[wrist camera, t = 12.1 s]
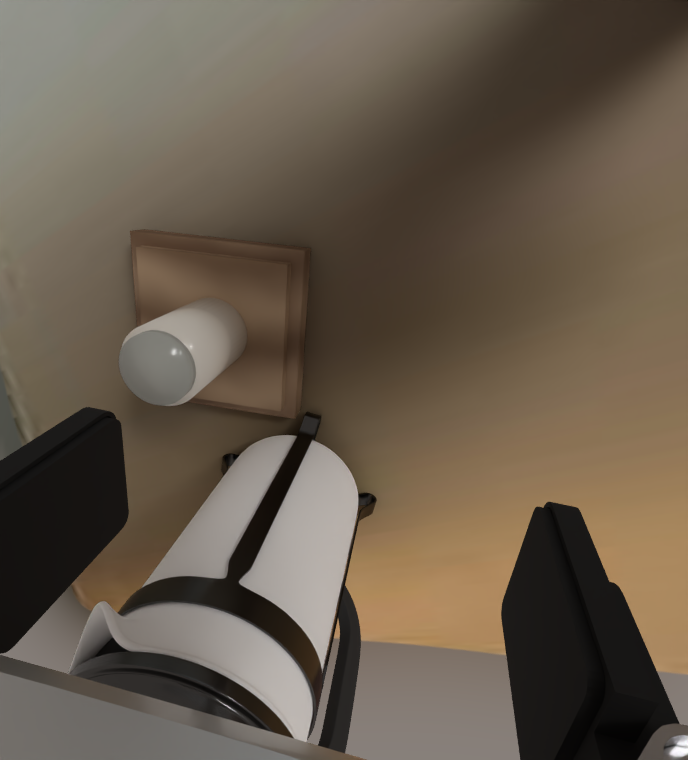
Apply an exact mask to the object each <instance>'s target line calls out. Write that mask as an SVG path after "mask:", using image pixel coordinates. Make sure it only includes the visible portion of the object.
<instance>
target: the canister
mask: <svg viewBox="0 0 688 760" xmlns="http://www.w3.org/2000/svg"><path fill="white" fill-rule="evenodd" d="M246 343H247V330H246V326H245V323H244V321H243V319H242V317H241V316H240V314H239V313H238V312H237V310H236V309H235V308H234V307H232V306H231V305H230V304H228V303H227V302H225V301H223V300H220V299H217V298H201V299H198V300H196V301H193V302H191V303H189V304H187V305H185V306H183V307H180V308H178V309H176V310H174V311H172V312H169V313H167V314H165V315H163V316H161V317H159V318H156V319H154V320H152V321H150V322H148V323H145V324H143V325H141V326H139V327H137V328H135V329H134V330H132V331H131V332H130V333H129V334H128V335H127V337H126V338H125V340H124V342H123V344H122V348H121V351H120V355H119V369H120V373H121V375H122V378H123V380H124V382H125V383H126V385H127V386H128V388H129V389H130V390H131V391H132V392H133V393H134V394H135V395H136V396H137V397H139V398H140V399H142V400H144V401H146V402H148V403H151V404H154V405H164V406H176V405H180V404H183V403H185V402H187V401H188V400H190V399H191V398H192V397H194V396H195V395H196V394H197V393H198V392H199V391H201V390H202V389H203V388H204V387H205V386H206V385H208V384H209V383H210V382H211V381H212V380H214V379H215V378H216V377H217V376H218V375H219V374H221V373H222V372H223V371H224V370H225V369H226V368H228V367H229V366H230V365H231V364H232V363H233V362H235V361H236V360H237V359H238V358H239V357H240V356H241V355H242V353H243V352H244V350H245V347H246Z"/></svg>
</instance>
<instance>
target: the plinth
mask: <svg viewBox="0 0 688 760" xmlns="http://www.w3.org/2000/svg"><path fill="white" fill-rule="evenodd" d="M130 235H131V248H132V262H133V276H134V290H135V304H136V318H137V327H139V326H141V325H143V324H145V323H148V322H150V321H152V320H154V319H156V318H159V317H161V316H163V315H165V314H167V313H169V312H172V311H174V310H176V309H178V308H180V307H183V306H185V305H187V304H189V303H191V302H193V301H196V300H198V299H201V298H217V299H220V300H223V301H225V302H227V303H228V304H230V305H231V306H232V307H234V308H235V309H236V310H237V312H238V313H239V314H240V316H241V317H242V319H243V321H244V323H245V326H246V330H247V343H246V347H245V350H244V352H243V353H242V355H241V356H240V357H239V358H238V359H237V360H236V361H235V362H233V363H232V364H231V365H230V366H229V367H228V368H226V369H225V370H224V371H223V372H222V373H221V374H219V375H218V376H217V377H216V378H215V379H214V380H212V381H211V382H210V383H209V384H208V385H206V386H205V387H204V388H203V389H202V390H201V391H199V392H198V393H197V394H196V395H195V396H194V397H192V398H191V399H190V400H188V401H187V402H190V403H197V404H203V405H210V406H216V407H222V408H229V409H235V410H241V411H248V412H254V413H261V414H267V415H273V416H280V417H286V418H292V419H295V418H296V416H297V415H298V413H299V411H300V410H301V397H302V381H303V365H304V350H305V334H306V318H307V302H308V286H309V270H310V254H311V248H304V247H296V246H287V245H278V244H269V243H260V242H251V241H242V240H234V239H225V238H216V237H207V236H198V235H189V234H180V233H171V232H163V231H154V230H145V229H144V230H135V231H130Z"/></svg>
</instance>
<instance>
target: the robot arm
mask: <svg viewBox="0 0 688 760" xmlns="http://www.w3.org/2000/svg"><path fill="white" fill-rule="evenodd" d="M128 514H129V510H128V498H127V487H126V475H125V464H124V452H123V440H122V429H121V423H120V421H119V420H117V419H116V417H115V415H114V414H113V413H112V412H110V411H105V410H100V409H95V408H90V407H86V408H83V409H81V410H80V411H78V412H77V413H75V414H73V415H72V416H70V417H69V418H67V419H66V420H64V421H62V422H61V423H59V424H58V425H56V426H55V427H53V428H51V429H50V430H48V431H47V432H45V433H43V434H42V435H40V436H39V437H37V438H36V439H34V440H32V441H31V442H29V443H28V444H26V445H25V446H23V447H21V448H20V449H18V450H17V451H15V452H14V453H12V454H10V455H9V456H7V457H6V458H4V459H3V460H1V461H0V653H6V652H7V651H9V650H10V649H11V648H12V647H13V646H15V645H16V643H17V642H18V641H19V640H20V639H21V638H22V637H23V636H24V635H25V634H26V633H27V631H28V630H29V629H30V628H31V627H32V626H33V625H34V624H35V623H36V622H37V621H38V619H39V618H40V617H41V616H42V615H43V614H44V613H45V612H46V611H47V610H48V609H49V608H50V606H51V605H52V604H53V603H54V602H55V601H56V600H57V599H58V598H59V597H60V596H61V595H62V593H63V592H64V591H65V590H66V589H67V588H68V587H69V586H70V585H71V584H72V583H73V582H74V580H75V579H76V578H77V577H78V576H79V575H80V574H81V573H82V572H83V571H84V570H85V568H86V567H87V566H88V565H89V564H90V563H91V562H92V561H93V560H94V559H95V558H96V557H97V555H98V554H99V553H100V552H101V551H102V550H103V549H104V548H105V547H106V546H107V545H108V544H109V542H110V541H111V540H112V539H113V538H114V537H115V536H116V535H117V534H118V533H119V532H120V530H121V529H122V528H123V527H124V525H125V524H126V521H127V519H128ZM501 616H502V625H503V633H504V640H505V648H506V655H507V662H508V670H509V678H510V685H511V692H512V700H513V707H514V715H515V722H516V729H517V738H518V745H519V753H520V760H688V726H687V725H681V724H679V721H678V719H677V717H676V715H675V712H674V710H673V708H672V705H671V703H670V701H669V698H668V696H667V694H666V692H665V689H664V687H663V685H662V682H661V680H660V678H659V675H658V673H657V671H656V669H655V666H654V664H653V662H652V659H651V657H650V655H649V652H648V650H647V648H646V646H645V643H644V641H643V639H642V636H641V634H640V632H639V629H638V627H637V625H636V623H635V620H634V618H633V616H632V613H631V611H630V609H629V606H628V604H627V602H626V600H625V597H624V595H623V593H622V591H621V590H620V588H619V586H617V585H616V584H615V583H612V582H609V580H608V577H607V575H606V573H605V570H604V568H603V565H602V563H601V560H600V558H599V556H598V553H597V551H596V548H595V546H594V544H593V541H592V539H591V536H590V534H589V531H588V529H587V527H586V524H585V522H584V519H583V517H582V515H581V512H580V510H579V509H578V508H576V507H572V506H567V505H563V504H558V503H553V502H547V503H546V504H545V506H544V508H542V507H536V508H535V510H534V512H533V515H532V518H531V520H530V523H529V526H528V529H527V532H526V535H525V538H524V541H523V544H522V547H521V549H520V552H519V555H518V558H517V561H516V564H515V567H514V570H513V573H512V576H511V578H510V581H509V584H508V587H507V590H506V593H505V596H504V599H503V603H502V611H501ZM0 760H366V759H362V758H359V757H355V756H352V755H348V754H345V753H342V752H338V751H335V750H331V749H328V748H324V747H321V746H318V745H314V744H311V743H307V742H304V741H300V740H297V739H294V738H290V737H287V736H283V735H280V734H277V733H273V732H270V731H266V730H263V729H259V728H256V727H252V726H249V725H245V724H242V723H239V722H235V721H232V720H228V719H225V718H221V717H218V716H214V715H211V714H207V713H204V712H200V711H197V710H193V709H190V708H186V707H183V706H179V705H176V704H172V703H169V702H165V701H162V700H158V699H155V698H151V697H148V696H144V695H141V694H137V693H134V692H130V691H127V690H123V689H120V688H116V687H113V686H109V685H105V684H102V683H98V682H95V681H91V680H88V679H84V678H81V677H77V676H74V675H70V674H66V673H62V672H59V671H56V670H52V669H48V668H45V667H41V666H38V665H34V664H30V663H27V662H23V661H20V660H16V659H13V658H9V657H5V656H2V655H0Z"/></svg>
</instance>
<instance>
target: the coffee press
mask: <svg viewBox="0 0 688 760" xmlns="http://www.w3.org/2000/svg"><path fill="white" fill-rule="evenodd" d="M320 421H321V416H320V415H317V414H313V413H310V412H306V414H305V417H304V419H303V422H302V425H301V428H300V430H299V433H298V435H297V436H294V435H278V436H272V437H268V438H265V439H262V440H260V441H257V442H255V443H254V444H252V445H251V446H249V447H248V448H247V449H245V450H244V451H243V452H242V453H241V454H240V456H237V455H235V454H226V455H224V456H223V461H222V467H221V471H222V473H223V475H224V476H223V477H222V479H221V480H220V481H219V483H218V484H217V486H216V487H215V488H214V490H213V491H212V493H211V494H210V495H209V497H208V498H207V499H206V501H205V502H204V503H203V505H202V506H201V508H200V509H199V510H198V512H197V513H196V514H195V516H194V517H193V518H192V520H191V521H190V522H189V524H188V525H187V527H186V528H185V529H184V531H183V532H182V533H181V535H180V536H179V537H178V539H177V540H176V542H175V543H174V544H173V546H172V547H171V548H170V550H169V551H168V552H167V554H166V555H165V556H164V558H163V559H162V561H161V562H160V563H159V565H158V566H157V567H156V569H155V570H154V571H153V573H152V574H151V576H150V577H149V578H148V580H147V581H146V582H145V584H144V585H143V586H142V588H141V589H139V590H138V591H136V592H135V593H134V594H133V595H132V596H131V597H130V598H129V599H128V600H127V601H126V603H125V604H124V605H123V607H122V608H121V609H120V611H119V612H118V613H117V612H116V611H114V610H113V609H112V607H111V606H110V605H109V604H108V603H107V602H106V601H101V602H99V603H98V604H96V606H95V607H94V609H93V610H92V612H91V614H90V616H89V619H88V620H87V623H86V625H85V628H84V630H83V633H82V635H81V638H80V641H79V643H78V646H77V649H76V651H75V654H74V657H73V660H72V663H71V665H70V668H69V671H68V674H70V675H74V676H77V677H81V678H84V679H88V680H91V681H95V682H98V683H102V684H105V685H109V686H113V687H116V688H120V689H123V690H127V691H130V692H134V693H137V694H141V695H144V696H148V697H151V698H155V699H158V700H162V701H165V702H169V703H172V704H176V705H179V706H183V707H186V708H190V709H193V710H197V711H200V712H204V713H207V714H211V715H214V716H218V717H221V718H225V719H228V720H232V721H235V722H239V723H242V724H245V725H249V726H252V727H256V728H259V729H263V730H266V731H270V732H273V733H277V734H280V735H283V736H287V737H290V738H294V739H297V740H300V741H304V742H307V740H308V738H309V736H310V735H311V733H312V731H313V728H314V725H315V721H316V716H317V712H318V707H319V702H320V697H321V693H322V689H323V684H324V679H325V674H326V670H327V665H328V661H329V656H330V652H331V647H332V642H333V638H334V633H335V629H336V624H337V619H339V625H340V642H339V648H338V655H337V660H336V664H335V669H334V674H333V679H332V685H331V690H330V694H329V700H328V704H327V709H326V714H325V719H324V725H323V729H322V734H321V738H320V741H319V744H318V746H321V747H324V748H328V749H331V750H335V751H338V752H342V753H345V749H346V745H347V740H348V734H349V728H350V722H351V715H352V709H353V702H354V696H355V689H356V682H357V675H358V668H359V659H360V648H361V635H360V626H359V620H358V615H357V611H356V608H355V605H354V602H353V600H352V598H351V596H350V593H349V592H348V590H347V588H346V586H345V582H346V577H347V573H348V568H349V563H350V559H351V554H352V549H353V545H354V540H355V535H356V531H357V526H358V522H359V521H360V520H361V519H363V518H365V517H367V516H369V515H371V514H372V513H373V510H374V507H375V504H376V497H375V496H374V495H372V494H370V493H361V494H358V491H357V487H356V483H355V481H354V478H353V476H352V474H351V472H350V470H349V469H348V467H347V466H346V464H345V463H344V462H343V461H342V460H341V459H340V458H339V457H338V456H337V455H336V454H335V453H334V452H333V451H331V450H330V449H329V448H327V447H326V446H324V445H322V444H320V443H318V442H316V441H315V437H316V434H317V431H318V428H319V424H320ZM228 466H231V467H230V468H229V470H228ZM359 505H366V506H365V507H363V508H362V509H361V510H360V512H359V515H358V518H357V522H356V525H355V521H356V516H357V510H358V506H359ZM354 526H355V529H354ZM353 530H354V533H353ZM352 535H353V538H352ZM348 555H349V556H348ZM347 558H348V560H347ZM346 562H347V565H346ZM345 567H346V569H345ZM344 571H345V574H344ZM343 576H344V578H343ZM342 580H343V581H342ZM335 612H336V614H335ZM334 616H335V619H334ZM333 621H334V623H333ZM332 625H333V628H332ZM331 630H332V632H331ZM330 634H331V637H330ZM329 639H330V641H329ZM328 643H329V646H328ZM327 648H328V650H327ZM326 652H327V655H326ZM325 657H326V659H325ZM324 661H325V664H324ZM323 666H324V668H323ZM322 670H323V673H322Z"/></svg>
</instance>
